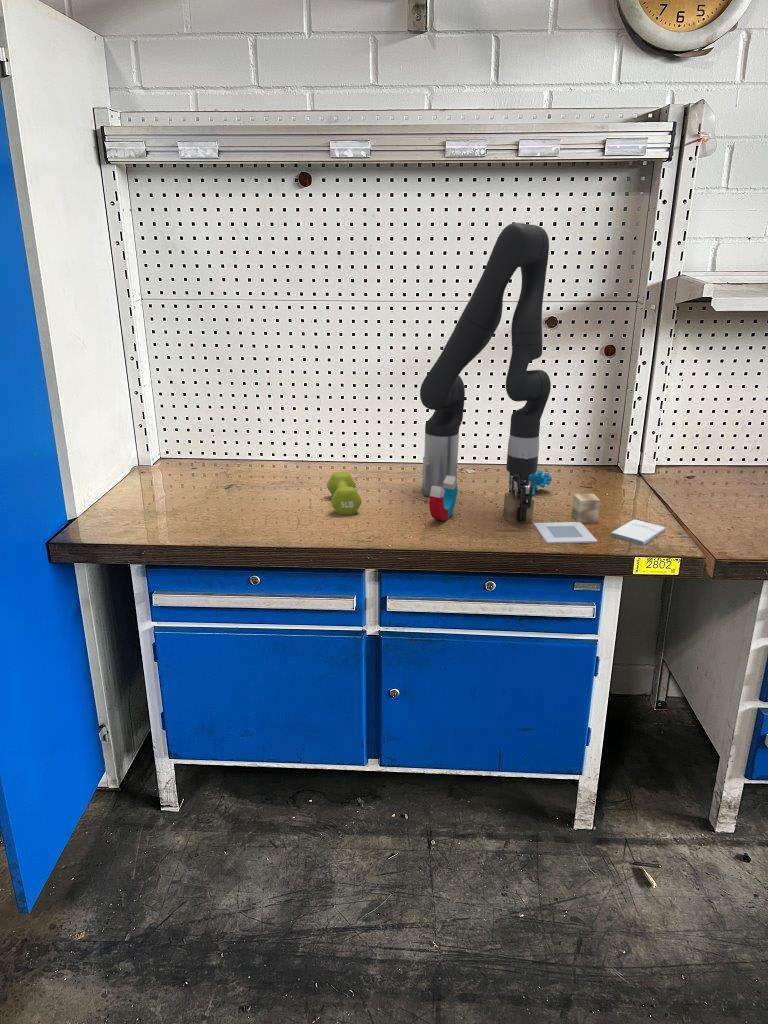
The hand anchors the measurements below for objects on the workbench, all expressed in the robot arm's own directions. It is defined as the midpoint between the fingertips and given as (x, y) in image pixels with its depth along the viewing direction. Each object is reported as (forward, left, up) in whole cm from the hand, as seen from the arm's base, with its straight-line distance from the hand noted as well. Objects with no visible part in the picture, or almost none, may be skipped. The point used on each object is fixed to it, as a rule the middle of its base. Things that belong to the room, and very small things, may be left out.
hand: (517, 516), depth 176 cm
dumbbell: (-44, +12, -1) cm, 46 cm away
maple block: (+17, -1, -1) cm, 17 cm away
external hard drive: (+27, -11, -1) cm, 29 cm away
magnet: (-19, +1, -1) cm, 19 cm away
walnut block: (0, 0, -1) cm, 1 cm away
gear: (+9, +21, -1) cm, 22 cm away
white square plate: (+9, -10, -1) cm, 13 cm away
